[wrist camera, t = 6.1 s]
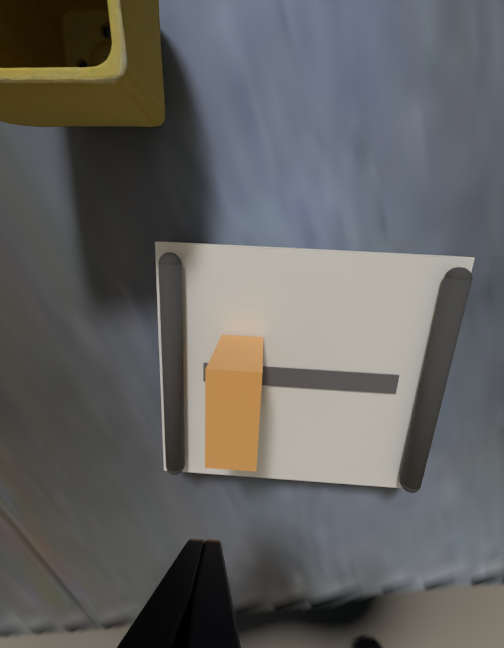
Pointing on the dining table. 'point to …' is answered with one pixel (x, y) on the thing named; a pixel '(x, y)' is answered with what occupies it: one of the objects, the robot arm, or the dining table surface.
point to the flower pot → (69, 52)
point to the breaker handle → (233, 403)
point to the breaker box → (312, 352)
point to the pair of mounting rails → (428, 395)
